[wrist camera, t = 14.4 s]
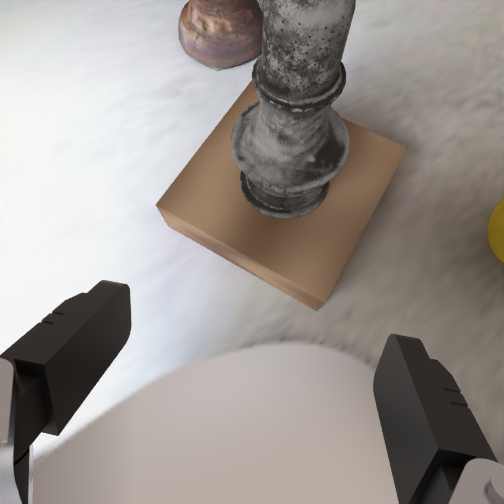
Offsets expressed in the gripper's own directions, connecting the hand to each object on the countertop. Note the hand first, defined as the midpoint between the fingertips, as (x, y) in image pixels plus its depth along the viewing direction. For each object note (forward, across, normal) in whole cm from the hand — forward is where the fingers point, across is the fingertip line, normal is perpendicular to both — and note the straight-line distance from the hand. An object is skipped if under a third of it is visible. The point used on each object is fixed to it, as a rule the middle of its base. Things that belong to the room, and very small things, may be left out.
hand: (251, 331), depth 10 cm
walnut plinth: (+14, 0, 0) cm, 14 cm away
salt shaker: (+12, 0, -2) cm, 12 cm away
